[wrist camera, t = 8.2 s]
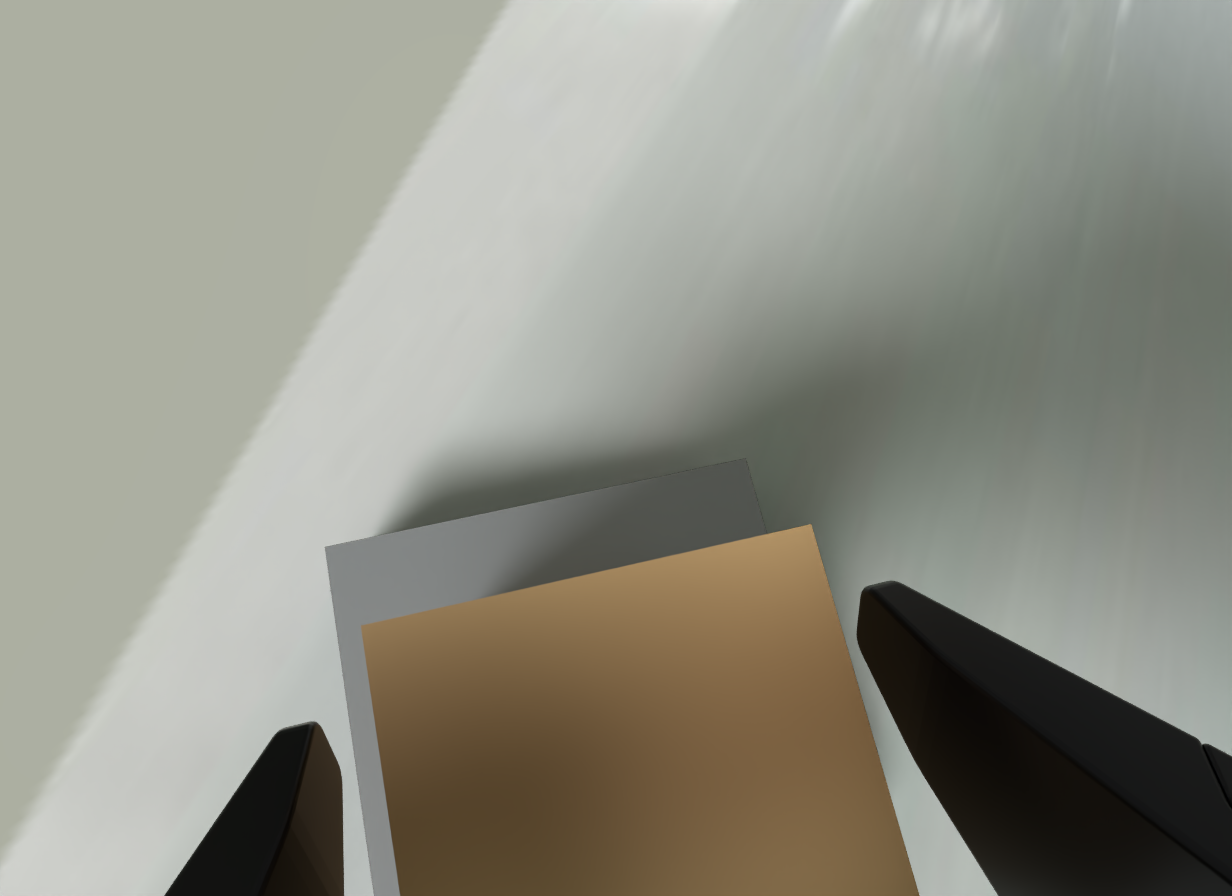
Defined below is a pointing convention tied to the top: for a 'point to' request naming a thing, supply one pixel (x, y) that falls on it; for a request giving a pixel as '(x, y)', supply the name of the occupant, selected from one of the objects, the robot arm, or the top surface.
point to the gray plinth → (513, 578)
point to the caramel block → (636, 736)
